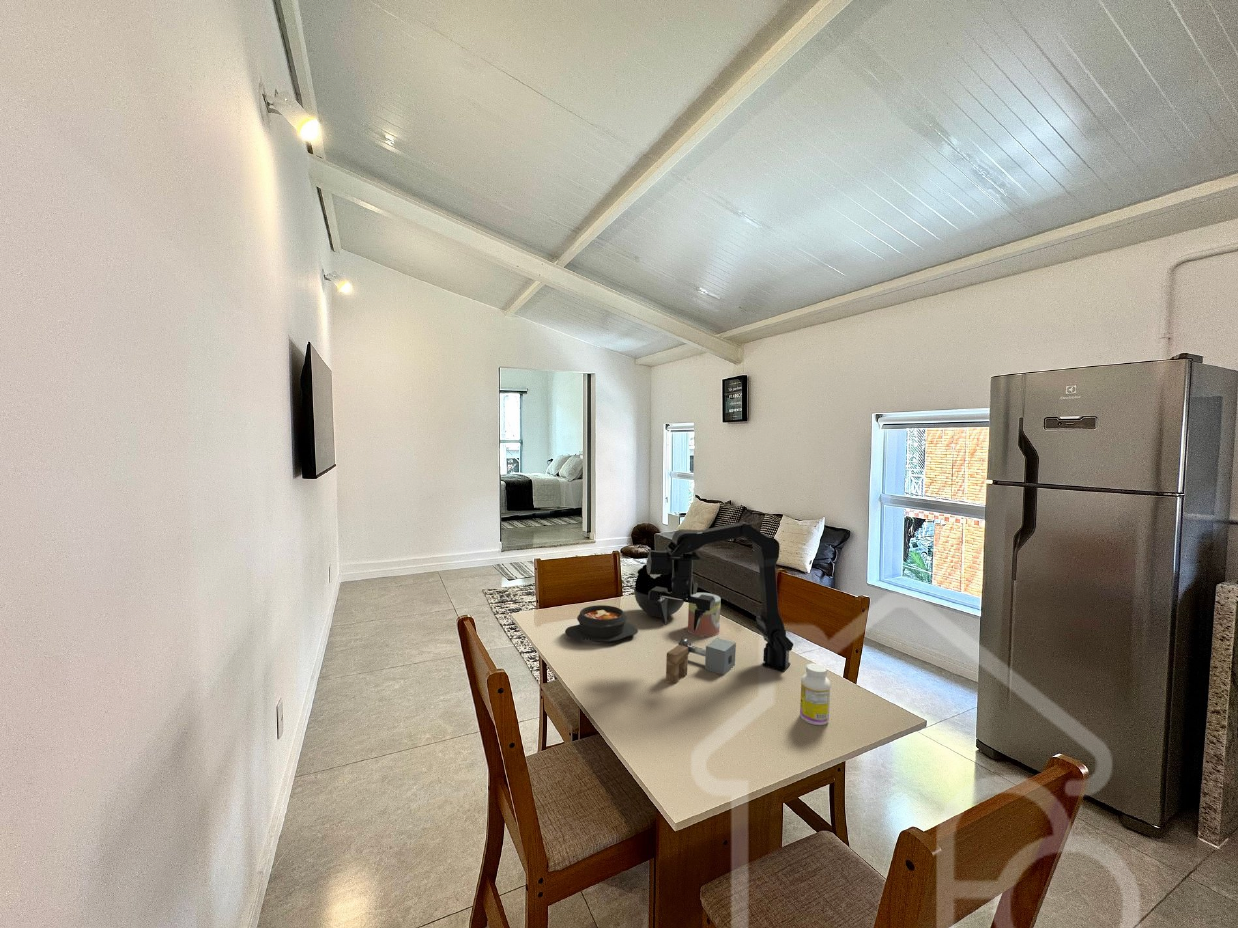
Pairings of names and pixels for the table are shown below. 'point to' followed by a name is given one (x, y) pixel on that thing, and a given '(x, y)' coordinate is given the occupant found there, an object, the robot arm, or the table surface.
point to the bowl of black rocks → (647, 583)
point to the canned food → (705, 618)
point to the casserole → (601, 625)
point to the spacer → (676, 663)
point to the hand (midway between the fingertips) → (680, 627)
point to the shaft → (692, 647)
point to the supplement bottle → (815, 695)
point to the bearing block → (720, 656)
